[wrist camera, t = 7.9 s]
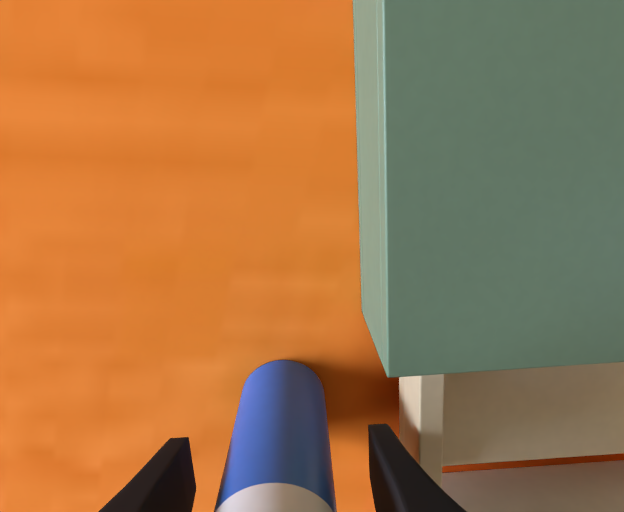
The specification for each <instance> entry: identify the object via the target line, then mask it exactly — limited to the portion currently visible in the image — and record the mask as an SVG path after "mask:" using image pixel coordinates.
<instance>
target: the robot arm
mask: <svg viewBox="0 0 624 512" xmlns="http://www.w3.org/2000/svg"><path fill="white" fill-rule="evenodd" d="M368 432H369V470H370V481H371V487H372V493H373V498H374V504H375V509H376V512H467V511H466V510H464V509H463V508H462V507H461V506H460V505H459V504H458V503H456V502H455V501H454V500H453V499H452V498H451V497H450V496H449V495H448V494H447V493H446V492H444V491H443V490H442V489H441V488H440V487H439V486H438V485H437V484H436V482H435V481H434V480H433V479H432V478H431V477H430V476H429V475H428V474H427V473H426V472H425V471H424V470H423V469H422V467H421V466H420V465H419V464H418V463H417V462H416V460H415V459H414V458H413V457H412V456H411V455H410V453H409V452H408V451H407V450H406V448H405V447H404V446H403V444H402V443H401V442H400V440H399V439H398V438H397V436H396V435H395V434H394V432H393V431H392V429H391V428H390V426H389V425H387V424H373V425H368ZM195 492H196V483H195V477H194V470H193V464H192V457H191V451H190V444H189V438H188V437H184V438H170V439H169V440H168V441H167V442H166V443H165V444H164V446H163V447H162V448H161V449H160V450H159V451H158V452H157V453H156V454H155V455H154V456H153V457H152V458H151V460H150V461H149V462H148V463H147V464H146V465H145V466H144V467H143V468H142V469H141V470H140V471H139V472H138V473H137V474H136V476H135V477H134V478H133V479H132V480H131V481H130V482H129V483H128V484H127V485H126V486H125V487H124V488H123V489H122V490H121V491H120V492H119V493H118V494H117V495H116V496H115V497H113V498H112V499H111V500H110V501H109V502H108V503H107V504H106V505H105V506H104V507H103V508H102V509H101V510H100V511H99V512H192V507H193V502H194V497H195Z"/></svg>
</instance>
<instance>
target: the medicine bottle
mask: <svg viewBox="0 0 624 512" xmlns="http://www.w3.org/2000/svg"><path fill="white" fill-rule="evenodd" d="M214 512H337V510H336V500H335V491H334V481H333V471H332V462H331V452H330V442H329V433H328V423H327V413H326V404H325V394H324V388H323V385H322V383H321V381H320V379H319V378H318V376H317V375H316V374H315V373H314V372H313V371H312V370H311V369H310V368H308V367H307V366H305V365H303V364H301V363H298V362H295V361H290V360H277V361H272V362H269V363H266V364H264V365H262V366H260V367H259V368H257V369H256V370H255V371H254V372H252V373H251V375H250V376H249V377H248V379H247V380H246V382H245V384H244V387H243V391H242V395H241V399H240V404H239V408H238V412H237V416H236V421H235V425H234V429H233V433H232V438H231V442H230V446H229V450H228V455H227V459H226V463H225V467H224V472H223V476H222V480H221V484H220V489H219V493H218V497H217V501H216V505H215V510H214Z"/></svg>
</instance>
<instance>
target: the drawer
mask: <svg viewBox="0 0 624 512" xmlns="http://www.w3.org/2000/svg"><path fill="white" fill-rule="evenodd" d="M399 440H400V442H401V443H402V444H403V446H404V447H405V448H406V450H407V451H408V452H409V453H410V455H411V456H412V457H413V458H414V459H415V460H416V462H417V463H418V464H419V465H420V466H421V467H422V469H423V470H424V471H425V472H426V473H427V474H428V475H429V476H430V477H431V478H432V479H433V480H434V481H435V482H436V484H437V485H438V486H439V487H440V488H441V489H442V490H443V491H444V492H446V493H447V494H448V495H449V496H450V497H451V498H452V499H453V500H454V501H455V502H456V503H458V504H459V505H460V506H461V507H462V508H463V509H464V510H466V511H467V512H624V460H616V461H602V462H588V463H574V464H560V465H546V466H532V467H517V468H503V469H489V470H475V471H461V472H447V473H442V466H450V465H465V464H479V463H493V462H507V461H521V460H535V459H550V458H564V457H578V456H592V455H606V454H620V453H624V362H616V363H601V364H586V365H571V366H556V367H542V368H527V369H512V370H497V371H482V372H467V373H452V374H437V375H423V376H408V377H399Z"/></svg>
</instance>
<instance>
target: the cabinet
mask: <svg viewBox="0 0 624 512" xmlns="http://www.w3.org/2000/svg"><path fill="white" fill-rule="evenodd" d="M353 22H354V57H355V92H356V126H357V161H358V196H359V231H360V265H361V300H362V313H363V315H364V319H365V321H366V324H367V326H368V329H369V331H370V334H371V337H372V339H373V342H374V344H375V347H376V349H377V352H378V355H379V357H380V360H381V362H382V365H383V367H384V370H385V372H386V375H387V377H389V378H393V377H408V376H423V375H437V374H452V373H467V372H482V371H497V370H512V369H527V368H542V367H556V366H571V365H586V364H601V363H616V362H624V0H353Z"/></svg>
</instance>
